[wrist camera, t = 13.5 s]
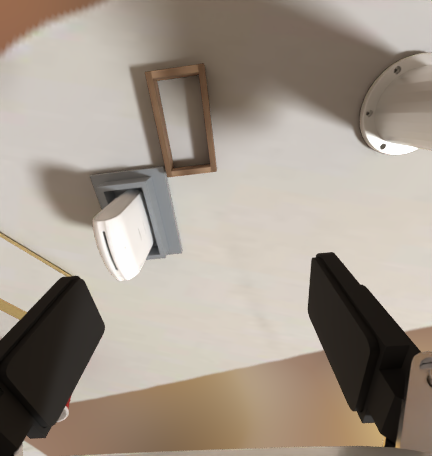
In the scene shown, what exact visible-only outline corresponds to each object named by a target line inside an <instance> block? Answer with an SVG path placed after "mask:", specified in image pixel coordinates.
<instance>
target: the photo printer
mask: <svg viewBox="0 0 432 456" xmlns="http://www.w3.org/2000/svg"><path fill="white" fill-rule="evenodd" d="M93 231H94V236H95V240H96V243H97V247H98V250H99V253H100V255H101V257H102V259H103V262H104V264H105V266H106V267H107V269H108V270H109V272H110V273H111V275H112V276H113V277H114V278H115V279H116V280H118V281H122V280H129V279H131V278H133V277H135V276H136V275H137V274H138V273H139V272H140V270H141V268H142V266H143V264H144V262H145V260H146V258H147V256H148V254H149V252H150V249H151V247H152V245H153V243H154V240H155V235H154V230H153V226H152V223H151V219H150V215H149V211H148V208H147V204H146V200H145V197H144V195H143V193H142V191H139V190H136V189H129V190H126V191H125V192H124V193H122V194H120V195H119V196H118V197H116V198H115V199H114V200H113V201H112V202H111V203H110V204H108V205H107V206H106V207H105V208H104V209H103V210H101V211H100V212H99V213H98V214H97V215H96V216H94V218H93Z"/></svg>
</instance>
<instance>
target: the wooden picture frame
mask: <svg viewBox="0 0 432 456" xmlns="http://www.w3.org/2000/svg"><path fill="white" fill-rule="evenodd" d="M145 75H146V80H147V85H148V89H149V94H150V99H151V104H152V108H153V113H154V118H155V122H156V127H157V132H158V136H159V141H160V146H161V150H162V155H163V160H164V164H165V169H166V174H167V177H174V176H183V175H191V174H200V173H208V172H216V171H217V167H216V158H215V150H214V141H213V132H212V124H211V115H210V107H209V98H208V89H207V81H206V72H205V66H204V63H203V64H196V65H189V66H183V67H176V68H169V69H162V70H155V71H148V72H145ZM195 75H199V80H200V88H201V96H202V104H203V111H204V119H205V127H206V135H207V143H208V151H209V158H210V164H204V165H195V166H187V167H178V168H174V165H173V160H172V154H171V149H170V144H169V139H168V134H167V129H166V124H165V119H164V114H163V109H162V104H161V98H160V93H159V88H158V83H157V81H160V80H167V79H174V78H181V77H188V76H195Z"/></svg>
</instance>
